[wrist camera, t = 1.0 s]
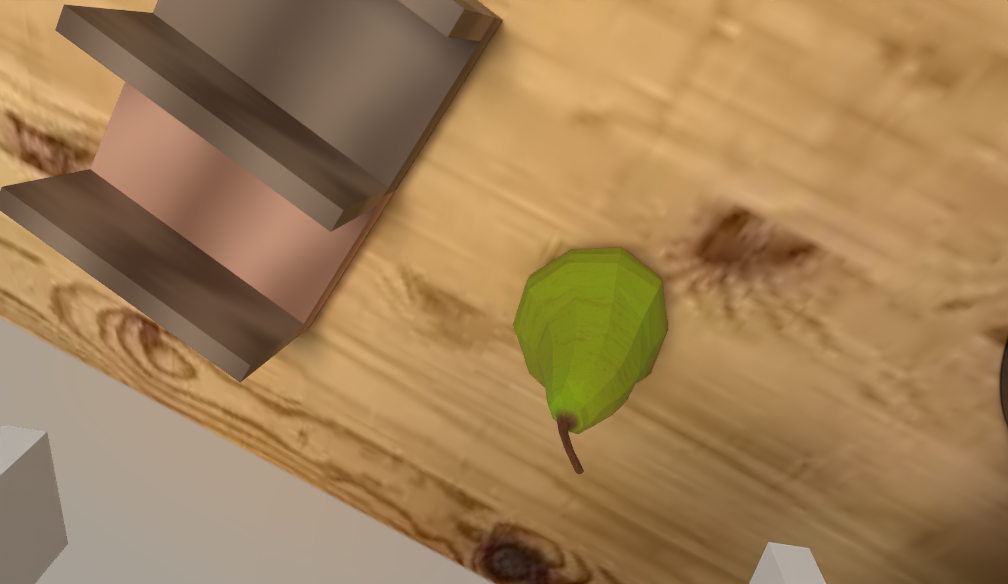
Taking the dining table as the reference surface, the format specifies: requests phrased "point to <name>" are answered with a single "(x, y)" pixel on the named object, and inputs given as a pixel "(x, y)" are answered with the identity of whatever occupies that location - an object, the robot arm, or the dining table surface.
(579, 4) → the dining table surface
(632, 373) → the fruit
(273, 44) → the rack
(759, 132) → the dining table surface
